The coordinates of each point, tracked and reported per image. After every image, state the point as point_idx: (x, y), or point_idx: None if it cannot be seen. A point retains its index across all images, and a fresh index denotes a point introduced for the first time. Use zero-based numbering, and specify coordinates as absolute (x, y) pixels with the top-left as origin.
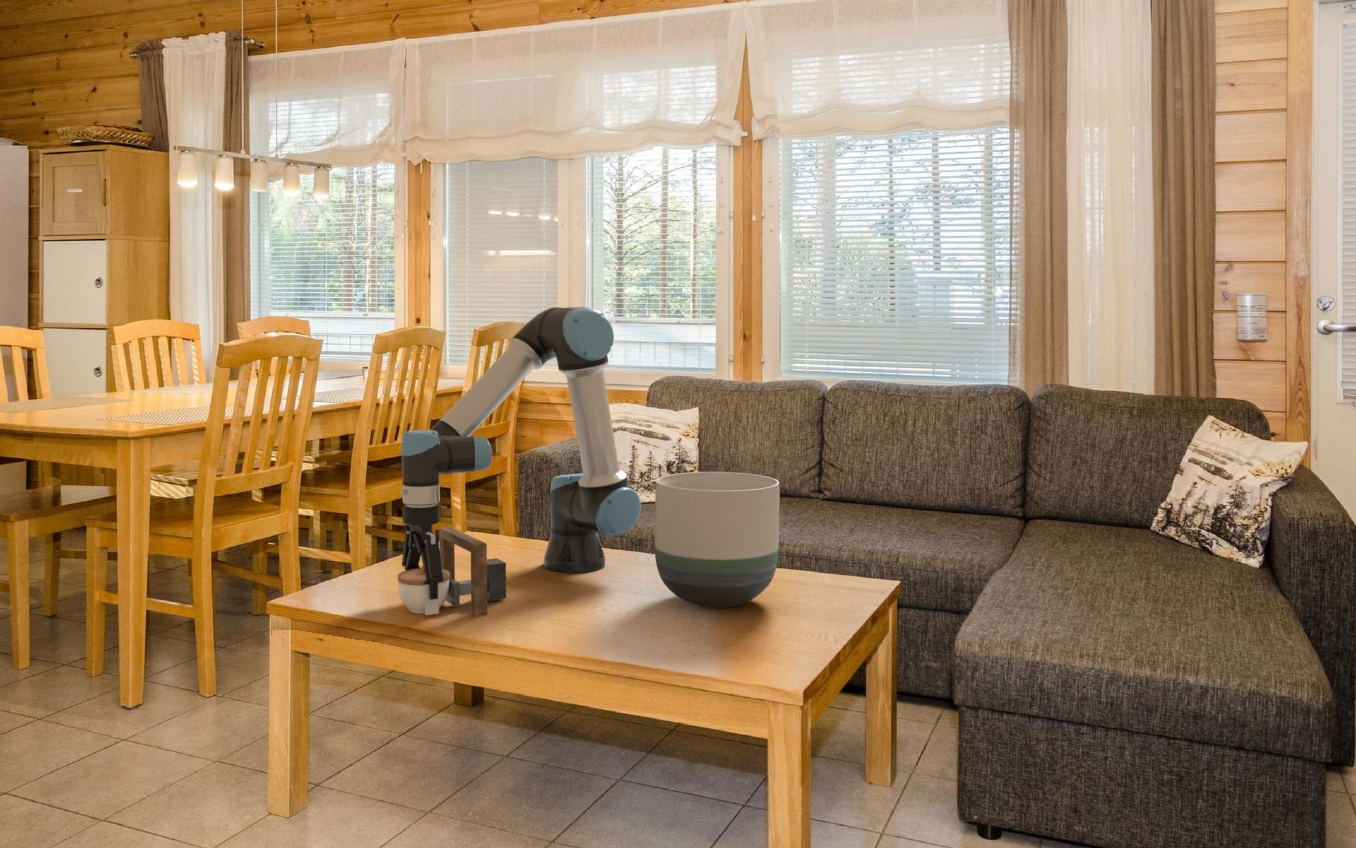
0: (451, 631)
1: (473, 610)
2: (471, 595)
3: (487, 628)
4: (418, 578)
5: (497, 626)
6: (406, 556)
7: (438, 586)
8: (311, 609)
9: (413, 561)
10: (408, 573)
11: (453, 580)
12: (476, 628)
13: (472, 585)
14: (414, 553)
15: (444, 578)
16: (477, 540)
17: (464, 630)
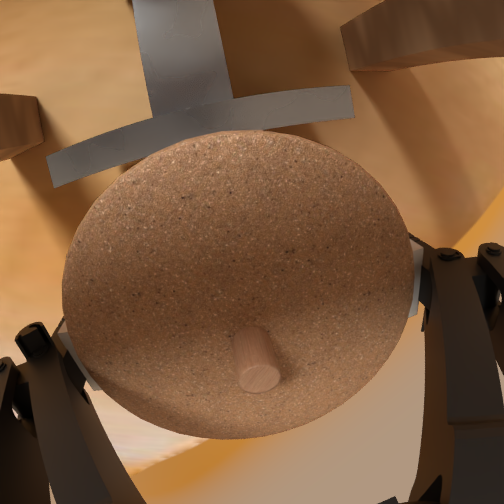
0: (481, 196)
1: (378, 68)
2: (395, 59)
3: (491, 100)
4: (369, 364)
5: (484, 69)
6: (39, 449)
7: (410, 240)
8: (149, 464)
9: (92, 421)
10: (225, 412)
11: (274, 106)
12: (485, 125)
13: (442, 53)
14: (125, 486)
15: (393, 203)
16: None
17: (487, 161)
